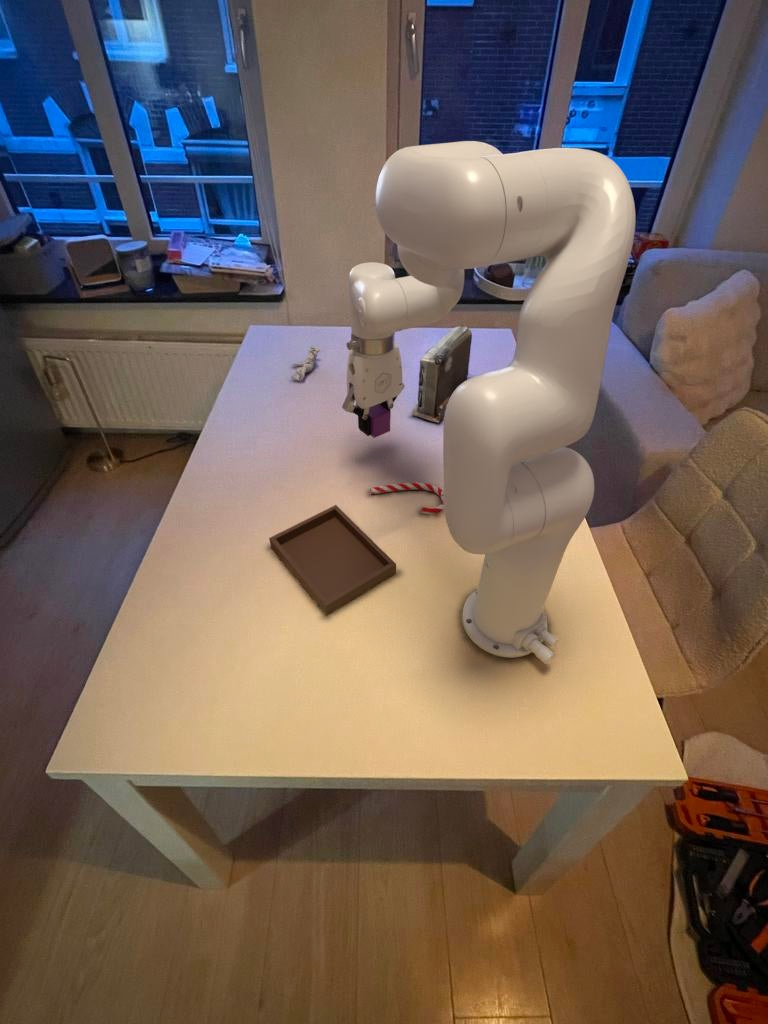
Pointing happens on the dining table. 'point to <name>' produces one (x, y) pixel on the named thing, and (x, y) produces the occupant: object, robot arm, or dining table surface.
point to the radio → (442, 373)
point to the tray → (332, 558)
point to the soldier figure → (306, 363)
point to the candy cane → (410, 487)
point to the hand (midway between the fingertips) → (374, 427)
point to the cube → (379, 420)
